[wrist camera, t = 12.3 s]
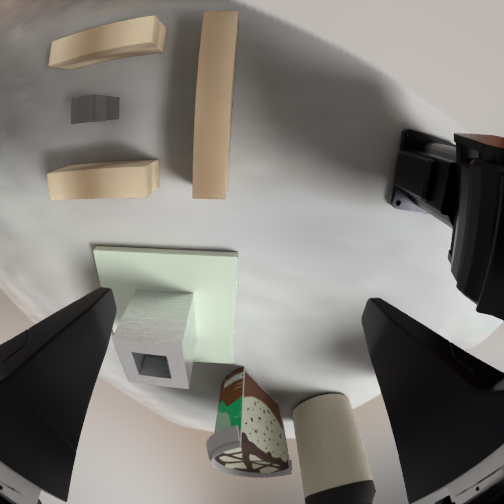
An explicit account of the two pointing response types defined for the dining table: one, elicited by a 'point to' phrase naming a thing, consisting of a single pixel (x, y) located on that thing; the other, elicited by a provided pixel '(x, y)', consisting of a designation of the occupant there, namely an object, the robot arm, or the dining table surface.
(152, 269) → the board
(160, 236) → the dining table surface
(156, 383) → the steel collar
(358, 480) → the travel mug
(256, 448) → the food container
